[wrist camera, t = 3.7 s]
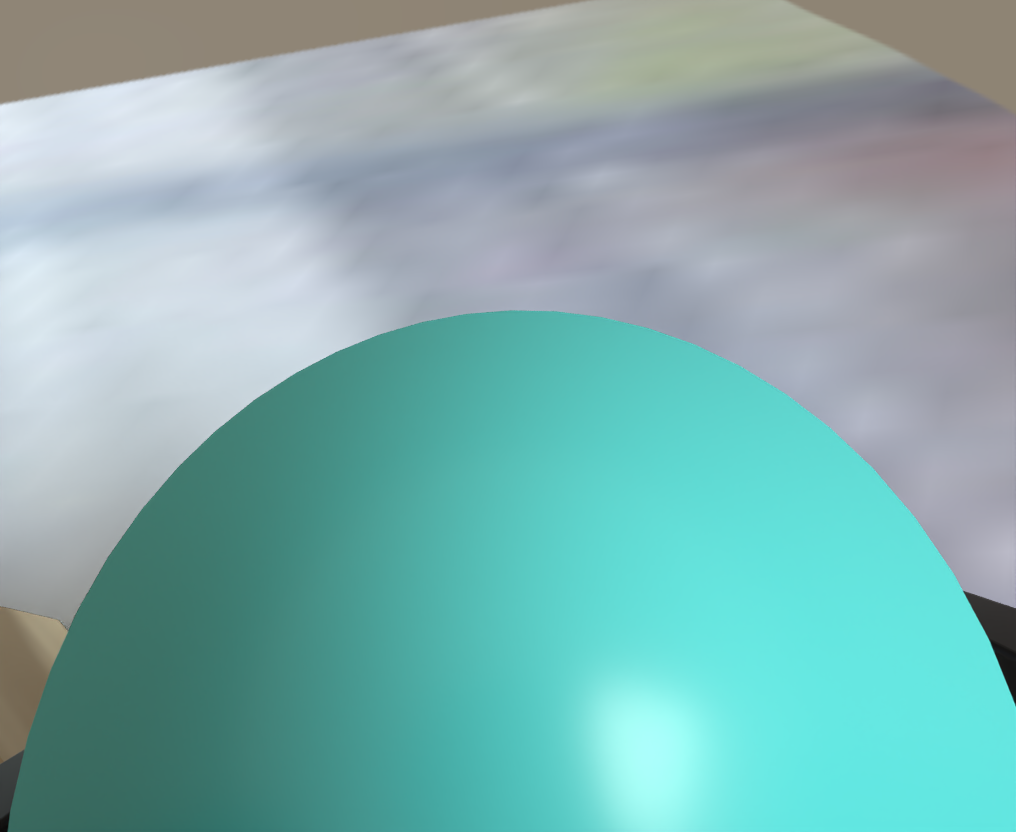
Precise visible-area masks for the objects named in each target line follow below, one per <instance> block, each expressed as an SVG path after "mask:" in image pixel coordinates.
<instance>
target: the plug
mask: <svg viewBox="0 0 1016 832" xmlns="http://www.w3.org/2000/svg"><path fill="white" fill-rule="evenodd" d="M8 832H1016V706H1015V703H1014V701H1013V698H1012V696H1011V693H1010V691H1009V688H1008V686H1007V683H1006V681H1005V678H1004V676H1003V673H1002V671H1001V668H1000V666H999V663H998V661H997V658H996V656H995V653H994V651H993V648H992V646H991V643H990V641H989V639H988V637H987V635H986V633H985V631H984V630H983V628H982V626H981V624H980V622H979V620H978V618H977V616H976V615H975V613H974V611H973V609H972V607H971V605H970V603H969V602H968V600H967V598H966V596H965V594H964V592H963V590H962V589H961V587H960V585H959V583H958V581H957V579H956V577H955V575H954V574H953V572H952V571H951V569H950V568H949V567H948V565H947V564H946V562H945V561H944V559H943V558H942V556H941V555H940V553H939V552H938V550H937V549H936V548H935V546H934V545H933V543H932V542H931V540H930V539H929V537H928V536H927V534H926V533H925V531H924V530H923V529H922V527H921V526H920V524H919V523H918V521H917V520H916V518H915V517H914V516H913V515H912V514H911V512H910V511H909V510H908V509H907V508H906V507H905V505H904V504H903V503H902V502H901V501H900V499H899V498H898V497H897V496H896V495H895V494H894V492H893V491H892V490H891V489H890V488H889V487H888V485H887V484H886V483H885V482H884V481H883V480H882V478H881V477H880V476H879V475H878V474H877V473H876V471H875V470H874V469H873V468H872V467H871V466H870V465H869V464H868V463H867V462H866V461H864V460H863V459H862V458H861V457H860V456H859V455H858V454H857V453H856V452H855V451H854V450H853V449H852V448H851V447H850V446H849V445H848V444H846V443H845V442H844V441H843V440H842V439H841V438H840V437H839V436H838V435H837V434H836V433H835V432H834V431H833V430H832V429H831V428H830V427H828V426H827V425H826V424H824V423H823V422H822V421H820V420H819V419H818V418H816V417H815V416H814V415H812V414H811V413H810V412H809V411H807V410H806V409H805V408H803V407H802V406H801V405H799V404H798V403H797V402H795V401H794V400H793V399H792V398H790V397H789V396H788V395H786V394H785V393H783V392H782V391H780V390H778V389H777V388H775V387H773V386H772V385H770V384H769V383H767V382H765V381H764V380H762V379H760V378H759V377H757V376H755V375H754V374H752V373H750V372H749V371H747V370H746V369H744V368H742V367H741V366H739V365H737V364H735V363H732V362H730V361H728V360H726V359H724V358H722V357H720V356H718V355H715V354H713V353H711V352H709V351H707V350H705V349H703V348H701V347H699V346H696V345H694V344H692V343H689V342H686V341H683V340H680V339H677V338H675V337H672V336H669V335H666V334H663V333H660V332H657V331H654V330H652V329H649V328H645V327H641V326H637V325H632V324H628V323H624V322H620V321H615V320H611V319H607V318H603V317H595V316H588V315H580V314H572V313H564V312H556V311H498V312H486V313H474V314H464V315H459V316H453V317H448V318H442V319H437V320H432V321H426V322H421V323H418V324H415V325H411V326H408V327H404V328H401V329H397V330H394V331H390V332H387V333H384V334H380V335H377V336H375V337H372V338H370V339H367V340H365V341H362V342H360V343H358V344H355V345H353V346H350V347H348V348H345V349H343V350H340V351H338V352H335V353H334V354H332V355H330V356H328V357H326V358H324V359H322V360H320V361H318V362H316V363H314V364H312V365H311V366H309V367H307V368H305V369H303V370H301V371H299V372H297V373H295V374H294V375H292V376H291V377H289V378H288V379H286V380H284V381H283V382H281V383H280V384H278V385H277V386H275V387H274V388H272V389H271V390H269V391H268V392H266V393H265V394H263V395H261V396H260V397H258V398H257V399H255V400H254V401H253V402H251V403H250V404H249V405H248V406H246V407H245V408H244V409H243V410H241V411H240V412H239V413H238V414H236V415H235V416H234V417H233V418H231V419H230V420H229V421H228V422H226V423H225V424H224V425H223V426H221V427H220V428H219V429H218V430H216V431H215V432H214V433H213V434H212V435H211V436H210V437H209V438H208V439H207V440H206V441H205V442H204V443H203V444H202V445H201V446H200V447H199V448H198V449H197V450H195V451H194V452H193V453H192V454H191V455H190V456H189V457H188V458H187V459H186V460H185V461H184V462H183V463H182V464H181V465H180V466H179V467H178V468H177V469H176V470H175V471H174V473H173V474H172V475H171V476H170V477H169V478H168V480H167V481H166V482H165V483H164V484H163V485H162V487H161V488H160V489H159V490H158V491H157V492H156V494H155V495H154V496H153V497H152V498H151V499H150V501H149V502H148V503H147V504H146V505H145V506H144V508H143V509H142V510H141V511H140V513H139V514H138V516H137V517H136V518H135V520H134V521H133V523H132V524H131V526H130V527H129V528H128V530H127V531H126V533H125V534H124V535H123V537H122V538H121V540H120V541H119V543H118V544H117V545H116V547H115V548H114V550H113V551H112V553H111V554H110V555H109V557H108V558H107V560H106V562H105V564H104V565H103V567H102V569H101V571H100V572H99V574H98V576H97V578H96V579H95V581H94V583H93V585H92V586H91V588H90V590H89V592H88V593H87V595H86V597H85V599H84V600H83V602H82V604H81V606H80V607H79V609H78V611H77V613H76V615H75V617H74V620H73V622H72V624H71V626H70V628H69V631H68V633H67V635H66V637H65V639H64V642H63V644H62V646H61V648H60V650H59V653H58V655H57V657H56V659H55V662H54V664H53V666H52V668H51V670H50V673H49V676H48V679H47V682H46V685H45V688H44V691H43V694H42V697H41V699H40V702H39V705H38V708H37V711H36V714H35V717H34V720H33V723H32V726H31V729H30V732H29V735H28V738H27V742H26V746H25V750H24V755H23V759H22V763H21V767H20V772H19V776H18V780H17V784H16V789H15V793H14V797H13V801H12V806H11V810H10V818H9V825H8Z"/></svg>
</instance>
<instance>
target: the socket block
mask: <svg viewBox="0 0 1016 832" xmlns="http://www.w3.org/2000/svg"><path fill="white" fill-rule="evenodd" d="M67 633H68V631H67V629H66V628H65V627H64V626H63V625H62V624H61V623H60V621H59V620H56V619H52V618H48V617H43V616H39V615H35V614H31V613H27V612H22V611H18V610H14V609H10V608H6V607H1V606H0V764H1V763H3V762H4V761H6V760H8V759H9V758H11V757H12V756H14V755H16V754H17V753H19V752H21V751H22V750H24V749H25V746H26V742H27V738H28V735H29V732H30V729H31V726H32V723H33V720H34V717H35V714H36V711H37V708H38V705H39V702H40V699H41V697H42V694H43V691H44V688H45V685H46V682H47V679H48V676H49V673H50V670H51V668H52V666H53V664H54V662H55V659H56V657H57V655H58V653H59V650H60V648H61V646H62V644H63V642H64V639H65V637H66V635H67Z"/></svg>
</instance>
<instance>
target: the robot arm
mask: <svg viewBox="0 0 1016 832" xmlns="http://www.w3.org/2000/svg"><path fill="white" fill-rule="evenodd" d="M963 592H964V594H965V596H966V598H967V600H968V602H969V603H970V605H971V607H972V609H973V611H974V613H975V615H976V616H977V618H978V620H979V622H980V624H981V626H982V628H983V630H984V631H985V633H986V635H987V637H988V639H989V641H990V643H991V646H992V648H993V651H994V653H995V656H996V658H997V661H998V663H999V666H1000V668H1001V671H1002V673H1003V676H1004V678H1005V681H1006V683H1007V686H1008V688H1009V691H1010V693H1011V696H1012V698H1013V701H1014V703H1015V706H1016V608H1013V607H1010V606H1007V605H1004V604H1001V603H998V602H995V601H992V600H989V599H986V598H983V597H980V596H977V595H974V594H971V593H968V592H965V591H963ZM24 750H25V749H24ZM24 750H22V751H21V752H19V753H17V754H16V755H14V756H12V757H11V758H9V759H8V760H6V761H4V762H3V763H1V764H0V832H8V825H9V818H10V810H11V806H12V801H13V797H14V793H15V789H16V784H17V780H18V776H19V772H20V767H21V763H22V759H23V755H24Z"/></svg>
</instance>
